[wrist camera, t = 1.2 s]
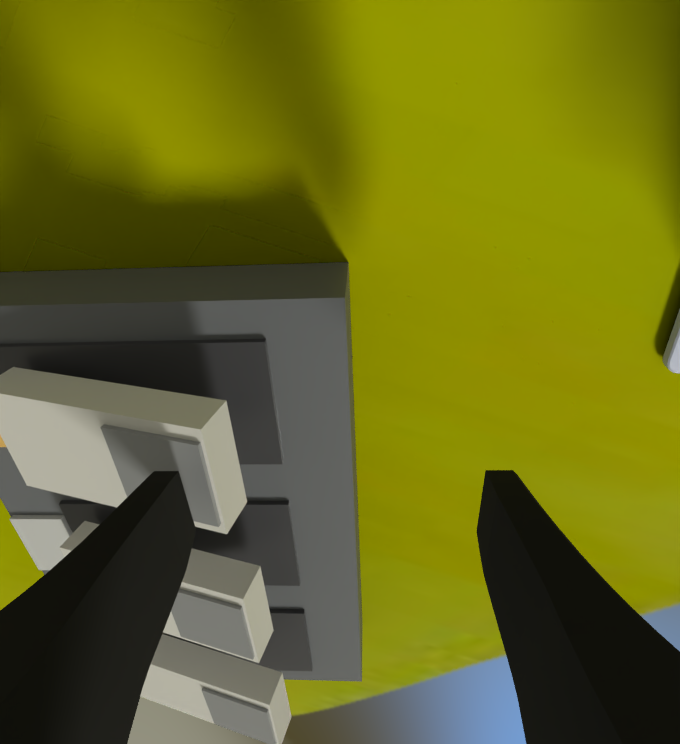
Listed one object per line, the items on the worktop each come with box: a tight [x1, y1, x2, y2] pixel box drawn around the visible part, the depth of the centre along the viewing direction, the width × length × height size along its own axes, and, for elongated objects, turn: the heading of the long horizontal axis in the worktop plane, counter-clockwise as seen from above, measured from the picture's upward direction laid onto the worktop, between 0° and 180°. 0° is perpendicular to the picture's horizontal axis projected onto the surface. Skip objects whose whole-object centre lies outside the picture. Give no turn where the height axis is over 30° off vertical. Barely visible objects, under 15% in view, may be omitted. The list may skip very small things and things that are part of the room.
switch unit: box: [0, 262, 362, 681], centre depth 20 cm, size 13×20×3 cm, turn 3°
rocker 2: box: [140, 634, 291, 744], centre depth 21 cm, size 7×4×1 cm, turn 93°
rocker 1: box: [0, 367, 247, 534], centre depth 14 cm, size 7×4×1 cm, turn 93°
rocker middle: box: [59, 521, 273, 663], centre depth 17 cm, size 7×4×1 cm, turn 93°
